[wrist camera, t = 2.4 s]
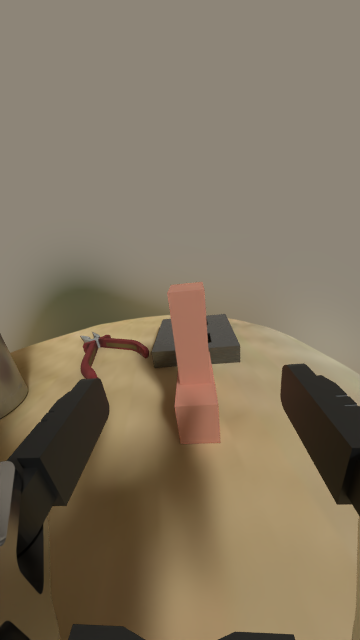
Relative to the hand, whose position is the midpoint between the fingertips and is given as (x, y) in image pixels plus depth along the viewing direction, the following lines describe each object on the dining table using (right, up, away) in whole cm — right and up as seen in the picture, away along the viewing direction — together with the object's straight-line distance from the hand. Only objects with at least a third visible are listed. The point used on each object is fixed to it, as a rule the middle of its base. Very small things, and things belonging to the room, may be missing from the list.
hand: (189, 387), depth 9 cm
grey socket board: (+3, -2, +30) cm, 30 cm away
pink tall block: (+2, -8, +15) cm, 17 cm away
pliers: (-14, -4, +32) cm, 36 cm away
